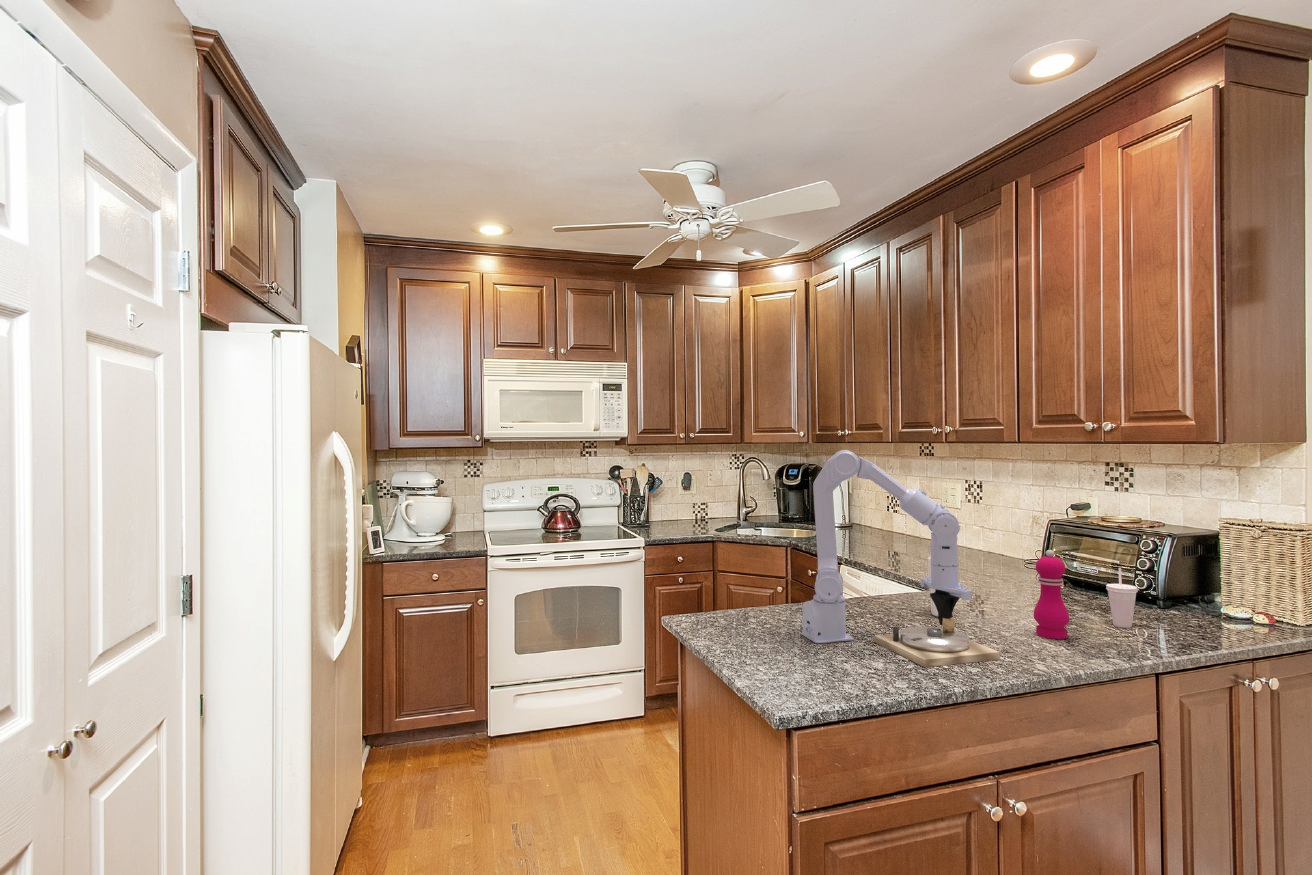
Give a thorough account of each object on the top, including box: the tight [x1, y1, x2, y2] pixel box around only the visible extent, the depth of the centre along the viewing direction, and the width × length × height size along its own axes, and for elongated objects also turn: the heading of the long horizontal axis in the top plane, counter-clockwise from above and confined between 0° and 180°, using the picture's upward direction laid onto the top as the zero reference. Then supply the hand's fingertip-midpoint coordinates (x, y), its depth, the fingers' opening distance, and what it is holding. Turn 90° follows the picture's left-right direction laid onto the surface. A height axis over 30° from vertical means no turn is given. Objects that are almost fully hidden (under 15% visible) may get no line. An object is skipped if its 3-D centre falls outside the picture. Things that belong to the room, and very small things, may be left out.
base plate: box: [874, 626, 1001, 668], centre depth 145 cm, size 18×18×4 cm
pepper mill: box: [1033, 549, 1070, 640], centre depth 155 cm, size 7×7×20 cm
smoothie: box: [1105, 567, 1139, 629], centre depth 162 cm, size 6×6×14 cm
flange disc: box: [899, 616, 971, 652], centre depth 145 cm, size 14×14×4 cm
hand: (945, 624), depth 149 cm, fingers closed, pressing on flange disc
